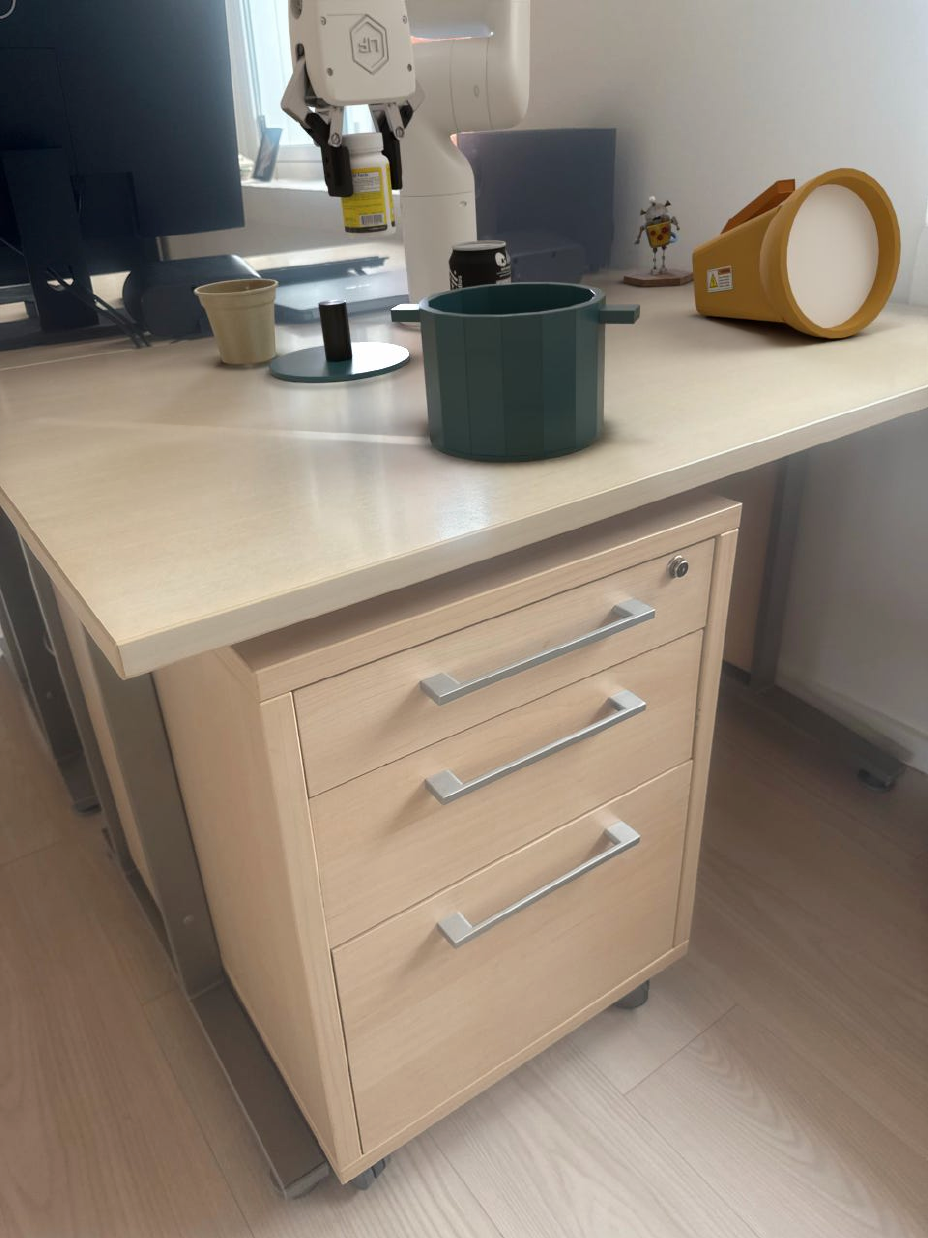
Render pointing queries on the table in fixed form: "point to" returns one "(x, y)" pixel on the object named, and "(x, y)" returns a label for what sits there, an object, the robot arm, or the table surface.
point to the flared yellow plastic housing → (804, 256)
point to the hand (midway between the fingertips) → (365, 190)
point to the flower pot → (241, 318)
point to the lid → (338, 353)
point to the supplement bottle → (368, 189)
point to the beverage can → (479, 264)
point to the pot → (515, 367)
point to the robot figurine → (657, 236)
